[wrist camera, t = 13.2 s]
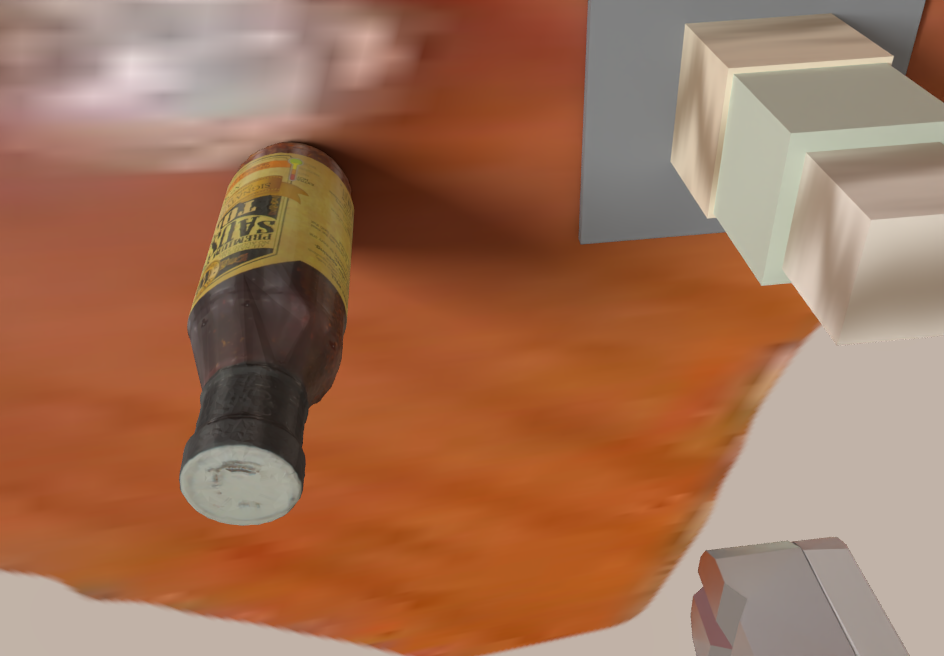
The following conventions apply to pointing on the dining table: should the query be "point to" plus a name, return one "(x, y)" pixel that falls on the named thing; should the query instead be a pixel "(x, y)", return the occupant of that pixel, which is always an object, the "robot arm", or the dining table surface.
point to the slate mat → (675, 102)
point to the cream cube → (871, 242)
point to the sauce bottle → (267, 331)
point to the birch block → (746, 51)
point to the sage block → (805, 143)
